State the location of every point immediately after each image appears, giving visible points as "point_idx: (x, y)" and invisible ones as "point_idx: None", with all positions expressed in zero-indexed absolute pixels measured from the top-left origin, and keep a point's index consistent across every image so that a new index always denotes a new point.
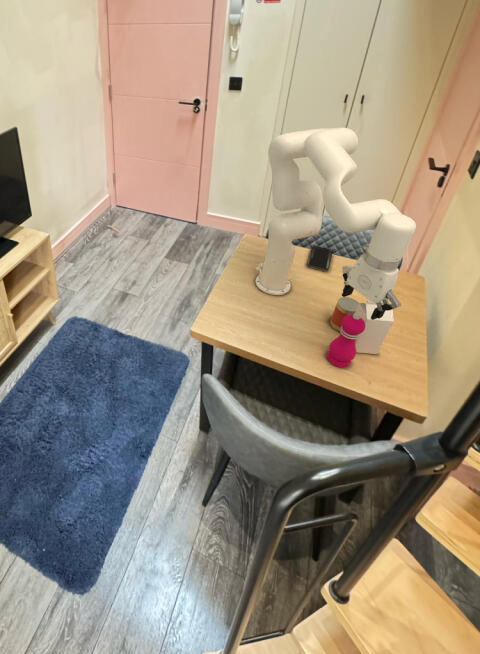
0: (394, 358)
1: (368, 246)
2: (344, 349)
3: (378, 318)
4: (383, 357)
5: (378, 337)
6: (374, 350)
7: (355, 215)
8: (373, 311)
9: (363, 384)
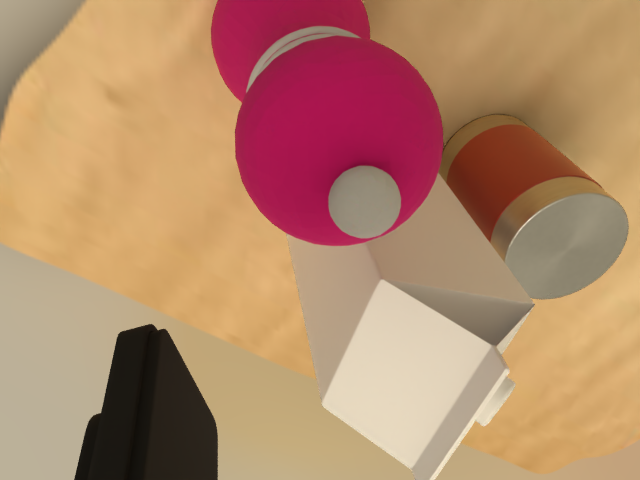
0: (252, 274)
1: None
2: (246, 21)
3: (96, 417)
4: (263, 238)
5: (308, 270)
6: None
7: None
8: (146, 455)
9: (99, 58)
